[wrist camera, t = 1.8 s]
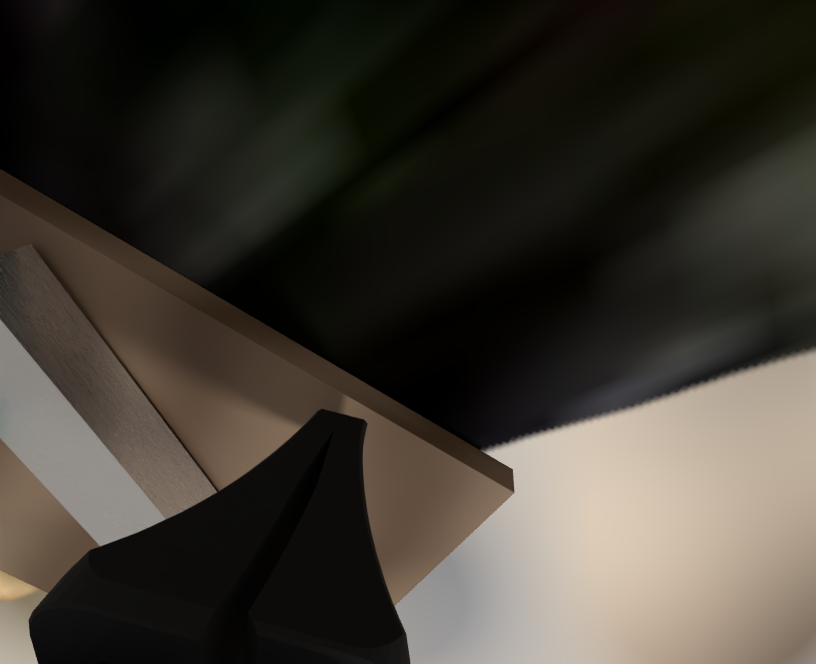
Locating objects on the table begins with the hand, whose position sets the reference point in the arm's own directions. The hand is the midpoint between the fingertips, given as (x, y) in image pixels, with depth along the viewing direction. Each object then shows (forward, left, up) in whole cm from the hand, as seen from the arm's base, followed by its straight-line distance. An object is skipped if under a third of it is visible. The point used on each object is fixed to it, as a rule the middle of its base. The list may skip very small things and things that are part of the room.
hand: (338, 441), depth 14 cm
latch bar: (-4, -6, -1) cm, 7 cm away
